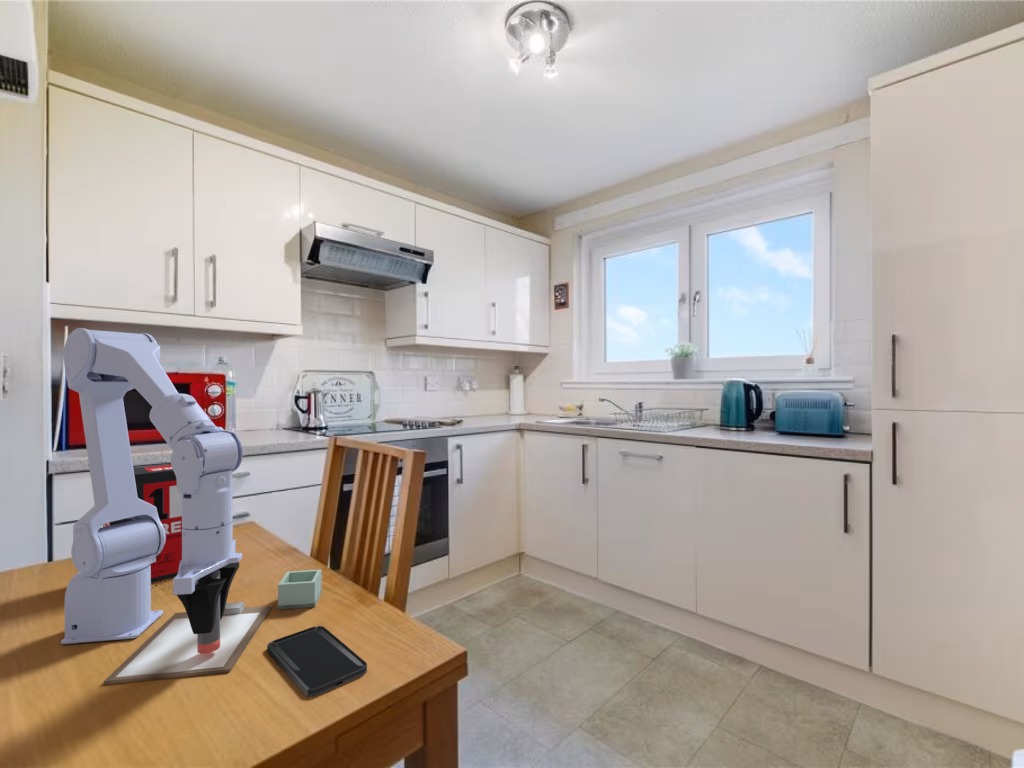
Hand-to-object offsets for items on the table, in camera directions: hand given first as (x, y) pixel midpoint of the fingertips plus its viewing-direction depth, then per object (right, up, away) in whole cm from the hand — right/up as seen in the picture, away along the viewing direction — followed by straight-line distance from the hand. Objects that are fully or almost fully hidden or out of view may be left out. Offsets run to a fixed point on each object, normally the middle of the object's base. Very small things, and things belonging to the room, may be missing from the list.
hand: (208, 626), depth 66 cm
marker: (0, -3, 0) cm, 3 cm away
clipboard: (-4, -4, +4) cm, 7 cm away
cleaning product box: (-27, -4, +30) cm, 40 cm away
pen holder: (+5, -4, +17) cm, 18 cm away
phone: (+14, -5, 0) cm, 15 cm away
